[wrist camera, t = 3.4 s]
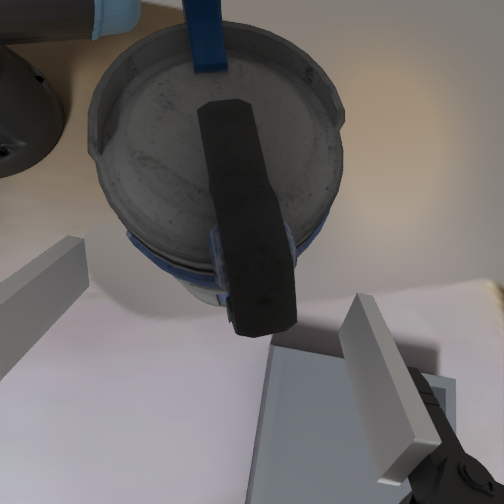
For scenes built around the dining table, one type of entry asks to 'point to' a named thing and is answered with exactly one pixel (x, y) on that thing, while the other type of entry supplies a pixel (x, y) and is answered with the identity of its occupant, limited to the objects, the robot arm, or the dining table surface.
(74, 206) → the dining table surface
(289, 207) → the beverage bottle
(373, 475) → the tray
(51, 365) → the dining table surface
